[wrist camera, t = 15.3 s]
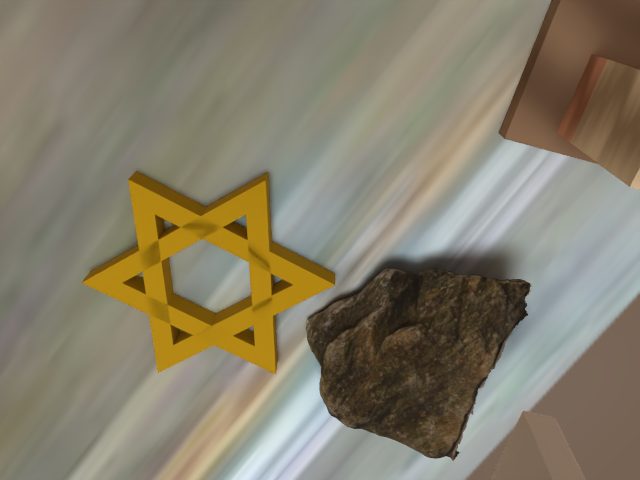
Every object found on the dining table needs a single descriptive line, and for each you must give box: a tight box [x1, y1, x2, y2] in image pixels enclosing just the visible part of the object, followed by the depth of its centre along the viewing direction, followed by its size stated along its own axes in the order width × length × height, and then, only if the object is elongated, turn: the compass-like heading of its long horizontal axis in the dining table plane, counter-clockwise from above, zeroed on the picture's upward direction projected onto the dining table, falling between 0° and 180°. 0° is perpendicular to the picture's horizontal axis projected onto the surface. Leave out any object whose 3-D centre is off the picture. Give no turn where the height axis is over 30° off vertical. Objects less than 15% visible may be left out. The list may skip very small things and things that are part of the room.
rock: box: [306, 268, 531, 460], centre depth 46 cm, size 18×10×15 cm
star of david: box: [82, 171, 335, 374], centre depth 46 cm, size 20×17×2 cm
